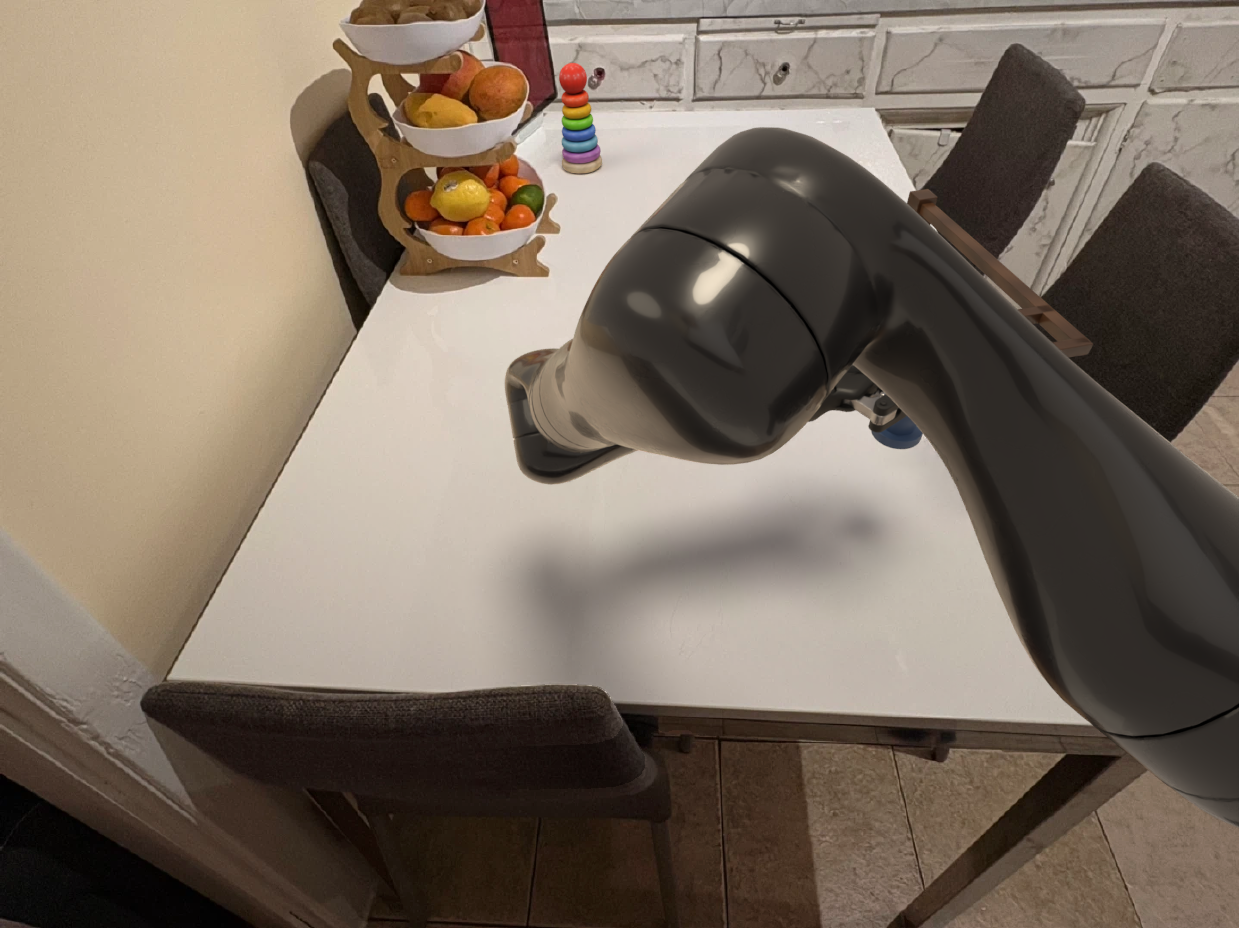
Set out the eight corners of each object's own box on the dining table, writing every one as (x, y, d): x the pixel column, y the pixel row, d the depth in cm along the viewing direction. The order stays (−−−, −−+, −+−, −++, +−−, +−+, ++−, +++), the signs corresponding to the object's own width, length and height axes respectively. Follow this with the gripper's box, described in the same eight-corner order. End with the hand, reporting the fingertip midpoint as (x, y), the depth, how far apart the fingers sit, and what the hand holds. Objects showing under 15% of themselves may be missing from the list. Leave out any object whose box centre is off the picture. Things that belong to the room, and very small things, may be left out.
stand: (1043, 484, 79) (1125, 333, 65) (936, 504, 78) (996, 354, 64) (891, 305, 104) (926, 169, 90) (808, 318, 103) (831, 182, 89)
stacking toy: (573, 156, 147) (563, 54, 134) (608, 161, 144) (603, 57, 131) (555, 172, 142) (544, 67, 129) (592, 177, 139) (584, 71, 126)
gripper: (793, 403, 51) (1017, 366, 53) (732, 298, 61) (923, 270, 63) (780, 476, 56) (984, 440, 58) (726, 369, 66) (902, 341, 68)
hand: (951, 352), depth 61 cm, fingers closed on peg, 3 cm apart
